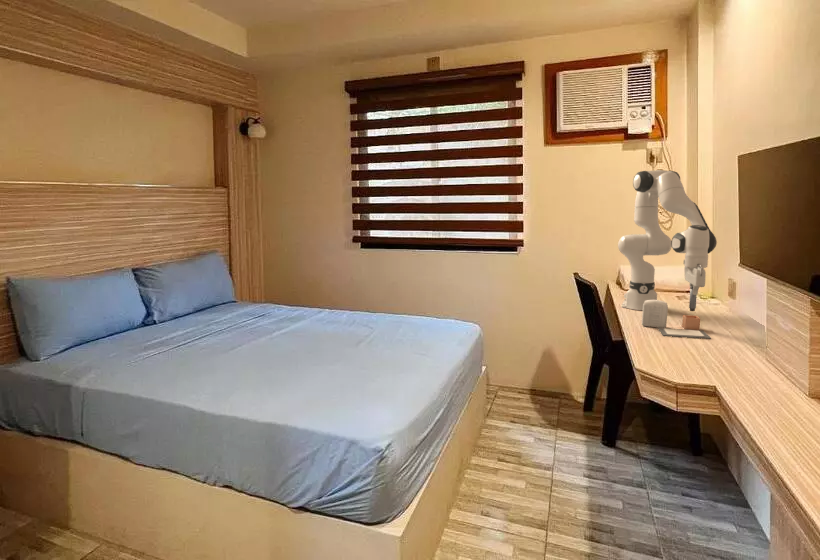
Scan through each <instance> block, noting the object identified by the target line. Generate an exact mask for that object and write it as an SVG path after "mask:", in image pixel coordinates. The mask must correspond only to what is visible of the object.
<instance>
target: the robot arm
mask: <svg viewBox="0 0 820 560" xmlns="http://www.w3.org/2000/svg"><path fill="white" fill-rule="evenodd" d="M632 180H633V181H632V186H633V188H634V191H636V194H635V195H636V196H635V200H634V211H633V213H634V217H633V222H634V223H635V225H636V226H638V227H639V228H641V229H643V230H644V231H645V233H641V234H640V233H638V234H637V233H634V234H633V233H632V234H625V235H622V236H621V237H620V238H619V240H618V242H617V248H618V251H619V253H621V254H622V255H623V256H624V257H626V259H627V260H628V262H629V264H630V281H629V289H628V290H627V291H626V292H625V293H624V296H623V298H624V300H623V301H622V304H621V308H626V309H630V310H636V311H643V304H644V302H645V301H646V300H658V292H657V291H656V290H655V286H656V284H655V270H656V269H655V266H654V265H653V264H651V263H650V262H648V261H645V260H644V256H663V255H668V254H669V252H670V251H671V250H673V251H674V252H675V253H678V254H684V259H683V265H684V281H686V282H687V283H689V287H690V286H693V290H692V294H693V295H697V296H698V292H699V289H700V288H704V287H705V286H706V276H707V275H706V269H705V268H708V263H709V261H708V260H709V254H710V253H711V252H713V251H714V250H715V248H716V247H717V243H718V242H717V237H716V235H715V234H714V233H713V231H712V230H711V229H710V227H709V226H708V223H707V221H706V220H705V218H704V216H703V213H702V212H701V210H700V208H699V206H698V204H696V203H695V201H692V200H691V198H690V197H689V196H688V194H687V193H686V192H685V191H686V190H685V188H684V185H683V183H682V181H681V176H680V174H679V173H678V172H677V171H673V170H666V169H665V170H664V169H656V170H654V169H653V170H641V171H638V172H636V174H635V175H634V176H633V179H632ZM659 202H660V205H661V207H662V208H663V209H664V210H665V211H667V212H669V213H671V214H676V215H679V216H682V217H684V218H686V219H688V221H689V222H690V224H691V225H690V226H688V227H687V229H685V230H683V231H680V232H677V233H675V234H673V236H672V238H670V236H669V235H667V234H666V233H665V232H664V231H663V230H662V228H661V227H660V224H659Z"/></svg>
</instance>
